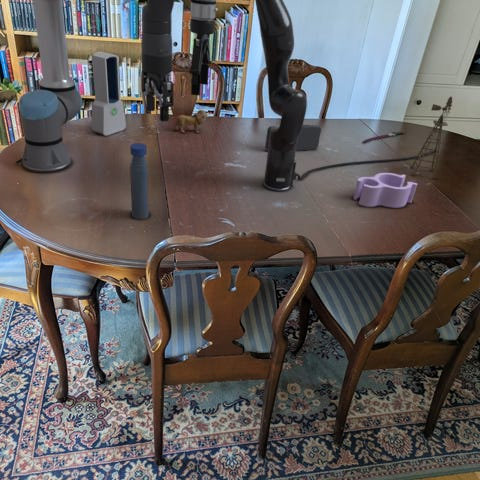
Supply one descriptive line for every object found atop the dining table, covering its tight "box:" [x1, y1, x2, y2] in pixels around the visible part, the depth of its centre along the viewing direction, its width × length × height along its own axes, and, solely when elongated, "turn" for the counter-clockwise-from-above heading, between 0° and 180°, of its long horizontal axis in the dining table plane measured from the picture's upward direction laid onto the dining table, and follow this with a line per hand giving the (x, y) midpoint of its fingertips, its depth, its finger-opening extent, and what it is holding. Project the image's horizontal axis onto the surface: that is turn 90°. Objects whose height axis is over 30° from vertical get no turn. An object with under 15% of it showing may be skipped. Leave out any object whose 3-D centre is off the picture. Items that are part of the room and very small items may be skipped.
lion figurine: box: [171, 109, 207, 134], centre depth 196 cm, size 15×5×9 cm, turn 110°
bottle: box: [129, 155, 150, 220], centre depth 131 cm, size 5×5×21 cm
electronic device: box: [90, 51, 127, 137], centre depth 182 cm, size 12×8×30 cm, turn 148°
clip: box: [352, 172, 418, 209], centre depth 158 cm, size 20×12×7 cm, turn 109°
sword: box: [363, 131, 407, 144], centre depth 214 cm, size 31×3×1 cm, turn 126°
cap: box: [129, 142, 147, 157], centre depth 126 cm, size 4×4×2 cm
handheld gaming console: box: [264, 124, 322, 151], centre depth 189 cm, size 23×3×10 cm, turn 108°
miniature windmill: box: [410, 96, 453, 179], centre depth 175 cm, size 9×8×30 cm
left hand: (199, 89), depth 153 cm, fingers open, 13 cm apart
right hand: (157, 115), depth 124 cm, fingers open, 8 cm apart
